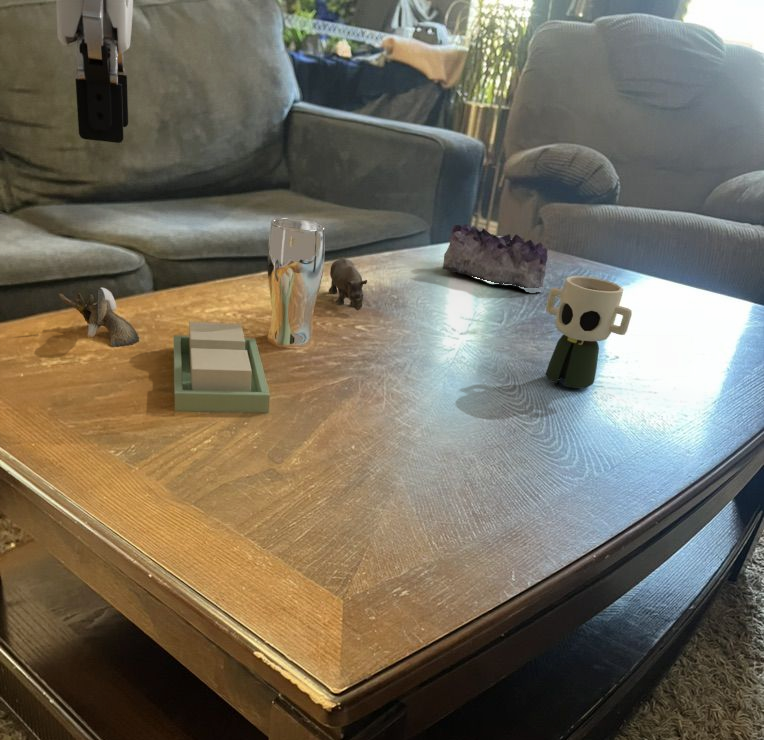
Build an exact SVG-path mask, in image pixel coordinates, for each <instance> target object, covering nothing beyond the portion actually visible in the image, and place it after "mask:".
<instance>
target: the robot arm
mask: <svg viewBox="0 0 764 740" xmlns="http://www.w3.org/2000/svg"><path fill="white" fill-rule="evenodd" d="M55 1H56V3H55V4H56V5H55V6H56V7H55V8H56V32H57V39H58V41H59V42H60V43H61V44H62V45H63V46H64V47H73V46H75V45H76V44H77V45H76V47H77V48H76V50H77V51H76V71H77V72H76V73H77V78H75V91H76V92H75V93H76V106H77V107H76V109H77V126H78V127H77V128H78V135H79V137H80V138H81V139H82V140H90V141H97V142H105V143H116V144H119V143H122V142H123V141H124V138H125V137H124V128H127V127H128V125H129V99H128V75H126V74H125V59H124V52H126V51H127V50H129V49H130V47H131V39H132V27H133V17H134V15H133V14H134V13H133V11H134V0H55Z"/></svg>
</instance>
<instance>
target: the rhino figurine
mask: <svg viewBox="0 0 764 740" xmlns="http://www.w3.org/2000/svg"><path fill="white" fill-rule="evenodd" d="M329 269H330V271H329V275H330V279H331V284H330V285H331V286H330V287H329V288H328V292H329V293H330V294H338V297H337V299H335V304H337V305H339V306H340V305H341V306H344V305H345V297H348V300H349V301H350V302H349V305H350V306H351V307H353V308H354V310H355V311H360V310H361V309H362V308H363V301H364V293H363V287H364V285H367V283H368V279H365V280H363V277H362V275H361V274H360V272H359V271H358V269H357V268H356V267H355V264H354V262H353V261H352V260H350V259H348V258H346V257H344V256H342V257H340V258H338V259H336V260H335V261H333V263H332V264H331V266H330V268H329Z"/></svg>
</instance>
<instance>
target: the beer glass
mask: <svg viewBox="0 0 764 740" xmlns="http://www.w3.org/2000/svg"><path fill="white" fill-rule="evenodd" d="M325 232H326V227H325V225H324V224H323V223H321V222H319V221H315V220H310V219H305V218H298V217H276V218H273V219H271V220H270V229H269V237H268V246H267V261H266V262H267V263H266V264H267V265H266V267H267V280H268V288H269V295H270V303H271V319H270V325H269V330H268V334H267V338H266V339H267V341H268V342H269V343H270V344H272V345H274V346H276V347H280V348H283V349H284V348H285V349H289V350H290V349H291V350H292V349H293V350H302V349H307V348H310V347H312V346H313V345H314V344H315V337H314V329H313V328H314V326H313V324H314V323H313V322H314V313H315V308H316V304H317V299H318V295H319V292H320V288H321V285H322V280H323V274H324V265H325V252H326V251H325V250H326V249H325V248H326V245H325V244H326V239H325V238H326V237H325V235H326V233H325Z"/></svg>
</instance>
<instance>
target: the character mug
mask: <svg viewBox="0 0 764 740" xmlns="http://www.w3.org/2000/svg"><path fill="white" fill-rule="evenodd" d="M623 293H624V288H623V287H622V286H621V285H619V284H618V283H615V282H612V281H610V280H607V279H604V278H598V277H594V276H585V275H571V276H568V277H567V278H565V281H564V284H563V288H562V289H561V288H557V287H551V288H550V290H549V292H548V295H547V300H546V305H545V312H546V313H548V314H549V315H553V316H555V327H556V330H557V331H558V332H559V333H560V334H562V335H561V336H560V337H559V339H558V341H557V343H556V345H555V348H554V350H553V353H552V355H551V357H550V359H549V360H550V361H549V363H548V366H547V368H546V372H545V376H546V378H547V379H548V380H550V381H551V382H553V383H554V384H558V382H559V380H558V379H560V378H561V379H560V380H563V381H564V382H563V386H564V387H566V388H572V389H586V388H589V387H591V386H592V385H593V384H594V382H595V379H596V374H597V368H598V362H599V361H598V359H599V352H600V347H599V346H600V345H599V342H602V341H605V340H607V339H608V338H609V337H610V336H611V334H612V333H613V334H616V335H620V336H624V335H626V333H627V332H628V329H629V325H630V322H631V319H632V311H633V310H632V309H630V308H628V307H626V306H622V305H620V304H621V301H622V297H623ZM556 297H557V298H560V300H559V304H558V307H556V306H554V305H555V301H556ZM617 315H621V316H622V317H621V321H620V325H617V324H615V322H616V318H617Z"/></svg>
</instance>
